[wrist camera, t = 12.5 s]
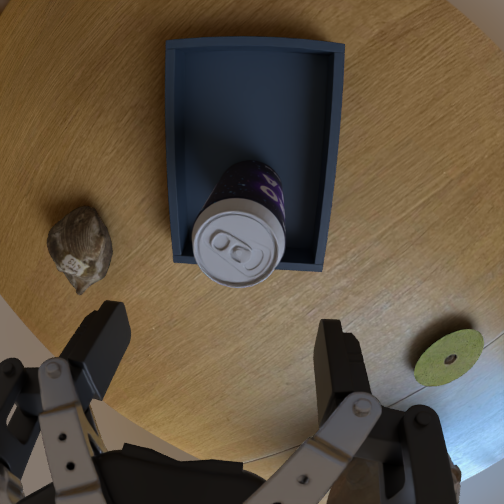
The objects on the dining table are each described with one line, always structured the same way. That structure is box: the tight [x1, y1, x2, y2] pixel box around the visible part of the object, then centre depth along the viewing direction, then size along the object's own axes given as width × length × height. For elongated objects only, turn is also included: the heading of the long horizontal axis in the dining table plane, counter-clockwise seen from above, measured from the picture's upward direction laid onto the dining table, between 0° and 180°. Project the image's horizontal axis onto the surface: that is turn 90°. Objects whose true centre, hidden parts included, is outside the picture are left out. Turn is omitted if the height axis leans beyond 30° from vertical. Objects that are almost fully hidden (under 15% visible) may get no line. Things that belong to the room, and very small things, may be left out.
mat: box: [414, 329, 484, 386], centre depth 37 cm, size 11×11×2 cm
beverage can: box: [191, 160, 286, 288], centre depth 23 cm, size 6×6×12 cm
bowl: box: [327, 454, 461, 504], centre depth 43 cm, size 27×29×20 cm
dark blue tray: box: [165, 36, 345, 272], centre depth 26 cm, size 20×14×4 cm
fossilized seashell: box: [47, 206, 113, 295], centre depth 31 cm, size 8×7×10 cm
